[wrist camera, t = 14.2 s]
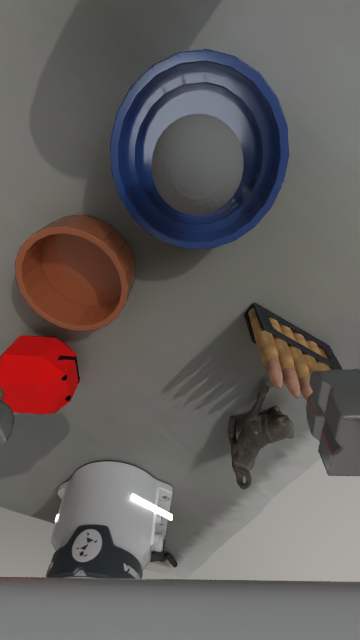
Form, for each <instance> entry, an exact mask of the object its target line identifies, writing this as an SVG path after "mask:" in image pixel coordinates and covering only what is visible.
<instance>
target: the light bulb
mask: <svg viewBox="0 0 360 640" xmlns="http://www.w3.org/2000/svg"><path fill="white" fill-rule="evenodd" d="M151 168H152V177H153V180H154V183H155V186H156V188H157V190H158V192H159V194H160V196H161V197H162V198H163V199H164V201H165V202H166V203H167V204H169V205H170V206H171V207H172V208H174V209H176V210H177V211H179V212H182V213H185V214H188V215H205V214H208V213H212V212H214V211H216V210H218V209H220V208H221V207H222V206H224V205H225V204H226V203H227V202H228V201H229V200H230V199H231V198H232V197H233V196H234V194H235V192H236V191H237V189H238V187H239V184H240V182H241V179H242V174H243V169H244V158H243V152H242V148H241V145H240V143H239V140H238V138H237V136H236V135H235V133H234V132H233V130H232V129H231V128H230V127H229V126H228V125H227V124H226V123H224V122H223V121H221V120H220V119H218V118H216V117H213V116H211V115H207V114H190V115H187V116H184V117H181V118H179V119H177V120H176V121H174V122H172V123H171V124H170V125H169V126H168V127H167V128H166V129H165V130H164V131H163V133H162V134H161V135H160V137H159V138H158V141H157V143H156V145H155V147H154V151H153V155H152V166H151Z"/></svg>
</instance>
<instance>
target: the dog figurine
mask: <svg viewBox="0 0 360 640" xmlns="http://www.w3.org/2000/svg"><path fill="white" fill-rule="evenodd" d="M268 391H269V387H268V386H267V385H265V384H262V385H261V387H260V392H259V393H258V395H257V401H256V403H255V405H254V406H253V408H252V410H251V411H250V413H249V414H248V415H247V417H246V419H245V422H244V428H243V429H242V431H241V432H240V435H239V437H238V441H237V439H236V424H237V418H236V417H231V418H230V427H229V441H230V444H231V455H232V467H233V470H234V472H235V474H236V479H237V483H238V485H239V486H240V488H242V489H247V488H248V487H249V486H250V485H251V475H250V473H249V471H250V470H251V469H252V468H253V466H254V463H255V458H256V456H257V454H258V452H259V450H260V449H261V448H262V447H264V446H265V445H267V444H269V443H273V442H275V441H279V440H282V439H285V438H293V437H294V428H293V423H292V421H291V420H290V419H289V417H288V416H287V415H283V413H282V412H281V411H279V410H280V409H279V407H277V406H275V407H273V408H271V409H270V411H269V412H268V413H267V414H264V413H261V414H259V411H260V408H261V405H262V403H263V401H264V399H265V396H266V394H267V392H268ZM244 475H245V477H246V483H245V484H244V483H243V476H244Z"/></svg>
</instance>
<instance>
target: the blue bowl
mask: <svg viewBox="0 0 360 640" xmlns="http://www.w3.org/2000/svg"><path fill="white" fill-rule="evenodd" d="M190 114H207V115H211V116H213V117H216V118H218V119H220V120H221V121H223V122H224V123H226V124H227V125H228V126H229V127H230V128H231V129H232V130H233V132H234V133H235V135H236V136H237V138H238V140H239V143H240V145H241V148H242V152H243V158H244V169H243V174H242V179H241V182H240V184H239V187H238V189H237V191H236V192H235V194H234V196H233V197H232V198H231V199H230V200H229V201H228V202H227V203H226V204H225V205H224V206H222V207H221V208H220V209H218V210H216V211H214V212H212V213H208V214H205V215H188V214H185V213H182V212H179V211H177V210H176V209H174V208H172V207H171V206H170V205H169V204H167V203H166V202H165V201H164V199H163V198H162V197H161V196H160V194H159V192H158V190H157V188H156V186H155V183H154V180H153V177H152V168H151V166H152V155H153V151H154V147H155V145H156V143H157V141H158V138H159V137H160V135H161V134H162V133H163V131H164V130H165V129H166V128H167V127H168V126H169V125H170V124H171V123H172V122H174V121H176V120H177V119H179V118H181V117H184V116H187V115H190ZM110 142H111V143H110V152H111V170H112V175H113V178H114V181H115V184H116V188H117V191H118V194H119V196H120V199H121V200H122V202H123V203H124V205H125V207H126V208H127V210H128V212H129V213H130V215H131V217H133V219H134V220H135V221H136V222H137V223H138V224H139V225H140V226H141V227H142V228H144V229H145V230H146V231H147V232H148V233H149V234H150V235H152V236H154V237H156V238H158V239H160V240H162V241H163V242H165V243H167V244H170V245H173V246H178V247H182V248H187V249H207V248H215V247H218V246H221V245H224V244H226V243H229V242H232V241H235V240H236V239H238V238H239V237H241V236H242V235H244V234H245V233H247V232H248V231H249V230H251V229H252V228H254V227H255V226H256V225H257V224H258V223H259V221H260V220H261V219H262V218H263V217H264V216H265V214H266V213H267V212H268V211H269V210H270V209H271V207H272V205H273V203H274V201H275V199H276V197H277V195H278V193H279V191H280V189H281V187H282V185H283V182H284V177H285V173H286V168H287V163H288V158H289V146H288V128H287V123H286V120H285V117H284V115H283V112H282V109H281V106H280V103H279V100H278V98H277V96H276V94H275V93H274V92H273V90H272V89H271V88H270V86H269V85H268V83H267V82H266V81H265V79H264V78H263V77H262V75H261V74H260V73H259V72H257V71H256V70H255V69H253V68H252V67H250V66H249V65H247V64H246V63H245V62H243V61H242V60H240V59H239V58H237V57H235V56H232V55H228V54H225V53H221V52H217V51H213V50H209V49H208V50H207V49H204V50H195V51H187V52H179V53H176V54H174V55H172V56H170V57H168V58H166V59H164V60H162V61H160V62H158V63H156V64H154V65H152V67H150V68H149V69H148V70H147V71H146V72H145V73H144V74H143V75H142V76H141V77H140V78H139V79H138V80H137V81H136V82H135V83H134V84H133V85H132V86H131V88H130V89H129V91H128V93H127V95H126V97H125V98H124V100H123V102H122V104H121V106H120V108H119V110H118V112H117V115H116V118H115V122H114V127H113V132H112V136H111V141H110Z"/></svg>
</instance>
